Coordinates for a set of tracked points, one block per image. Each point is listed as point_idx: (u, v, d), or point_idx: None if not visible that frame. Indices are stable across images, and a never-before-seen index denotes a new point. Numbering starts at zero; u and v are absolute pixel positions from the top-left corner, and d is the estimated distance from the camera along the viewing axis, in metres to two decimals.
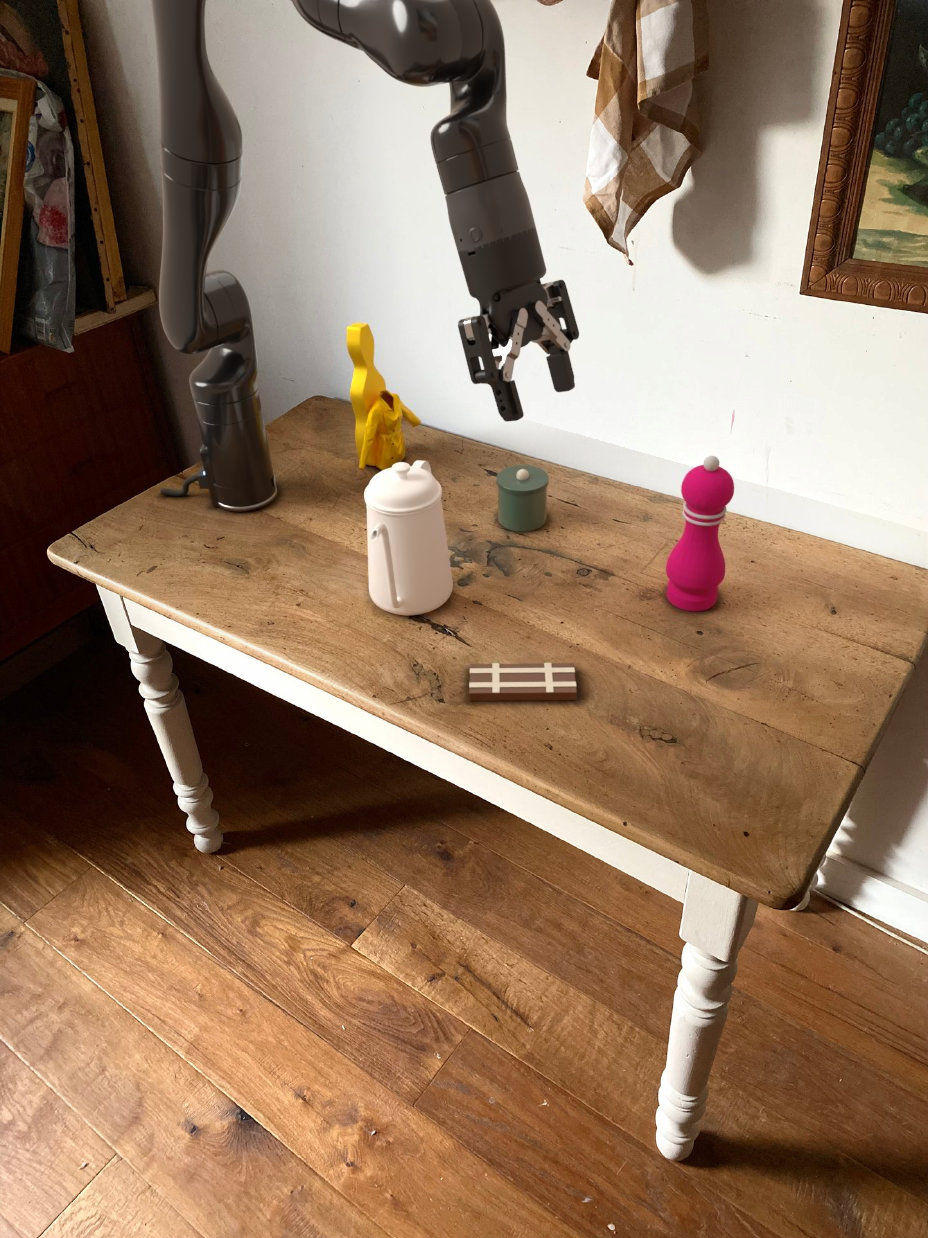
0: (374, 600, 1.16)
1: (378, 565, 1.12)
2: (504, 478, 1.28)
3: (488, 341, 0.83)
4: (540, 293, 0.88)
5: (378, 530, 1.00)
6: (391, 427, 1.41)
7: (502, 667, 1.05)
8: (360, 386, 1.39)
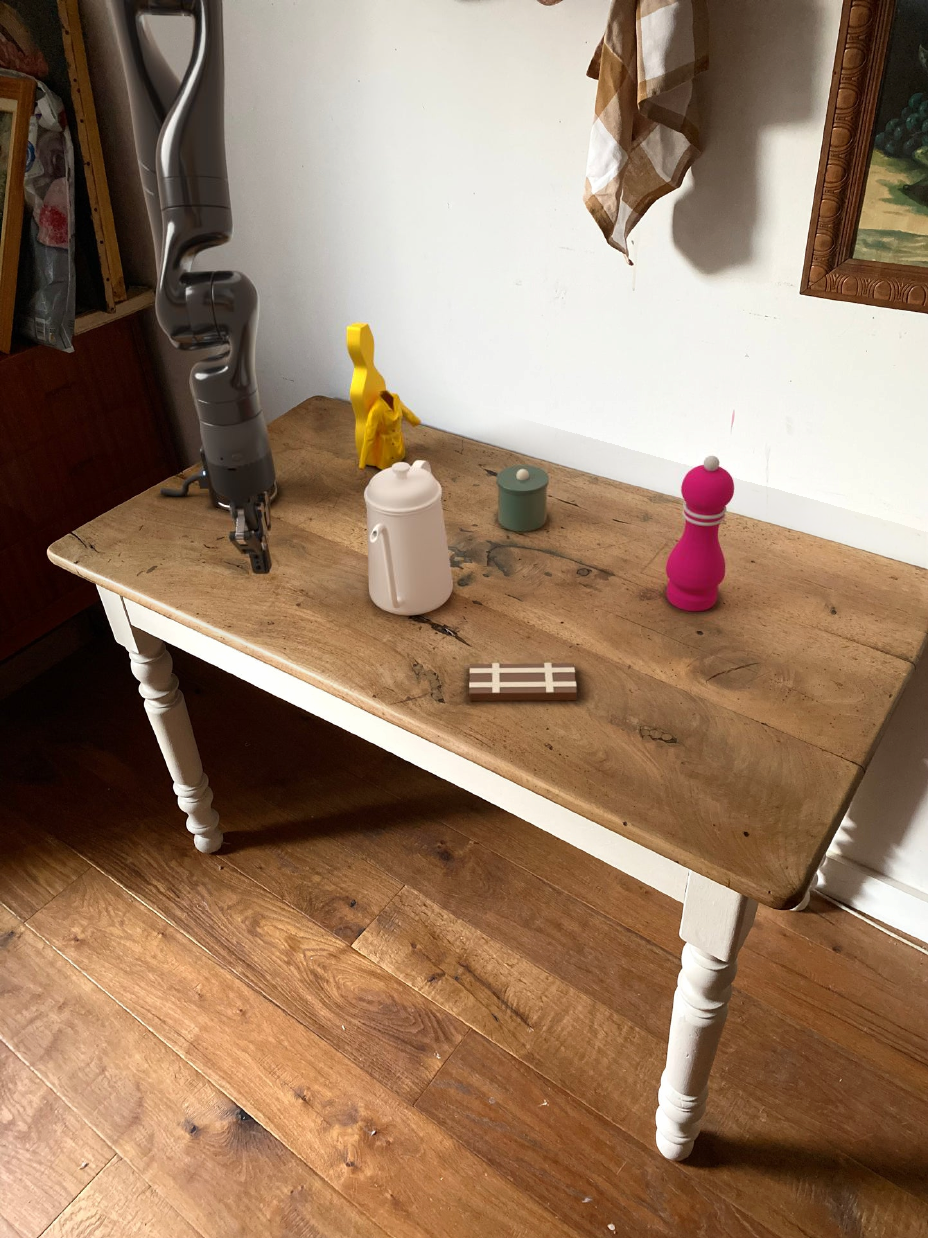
0: (374, 600, 1.16)
1: (378, 565, 1.12)
2: (504, 478, 1.28)
3: (255, 538, 1.09)
4: None
5: (378, 530, 1.00)
6: (391, 427, 1.41)
7: (502, 667, 1.05)
8: (360, 386, 1.39)
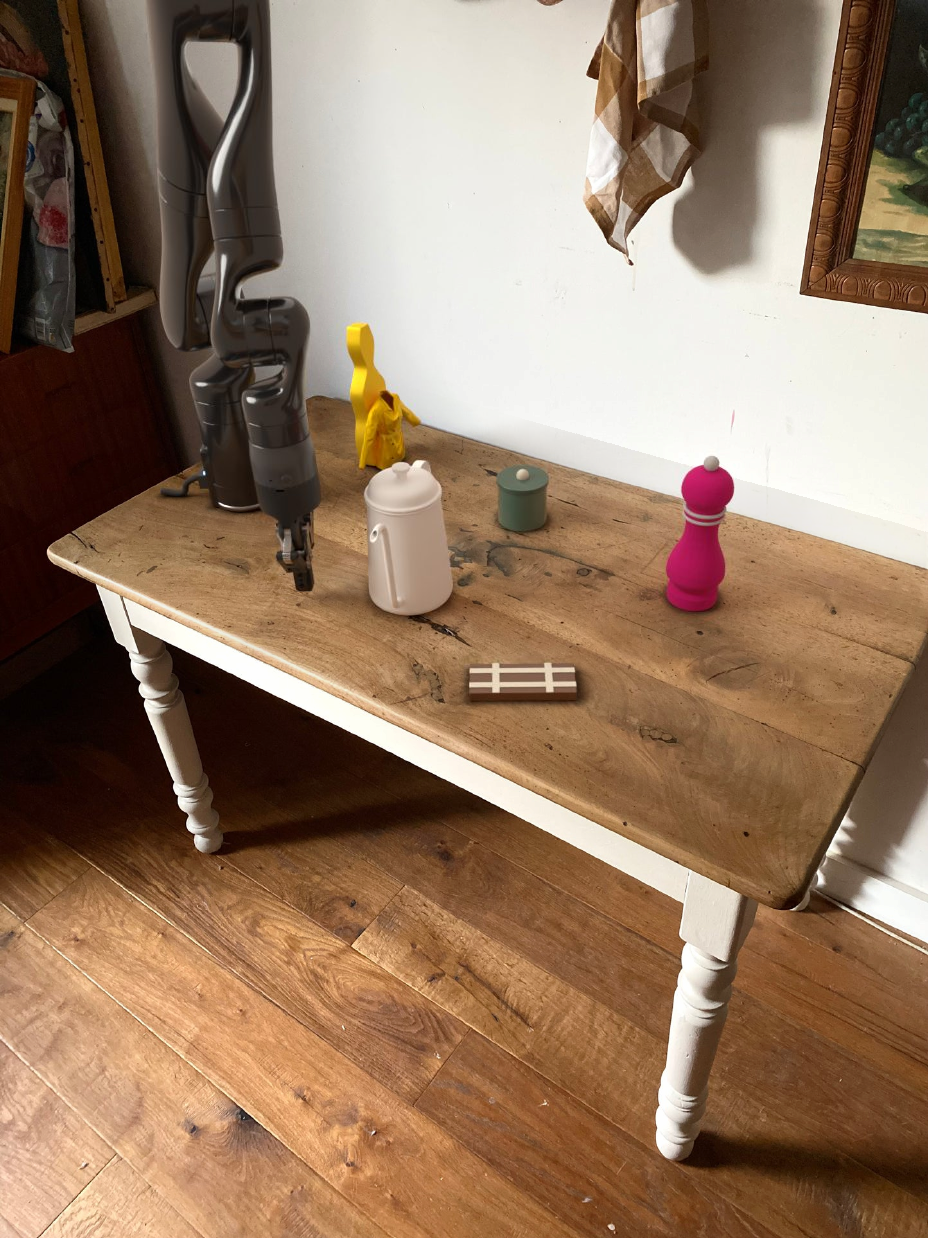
0: (374, 600, 1.16)
1: (378, 565, 1.12)
2: (504, 478, 1.28)
3: (301, 558, 1.10)
4: None
5: (378, 530, 1.00)
6: (391, 427, 1.41)
7: (502, 667, 1.05)
8: (360, 386, 1.39)
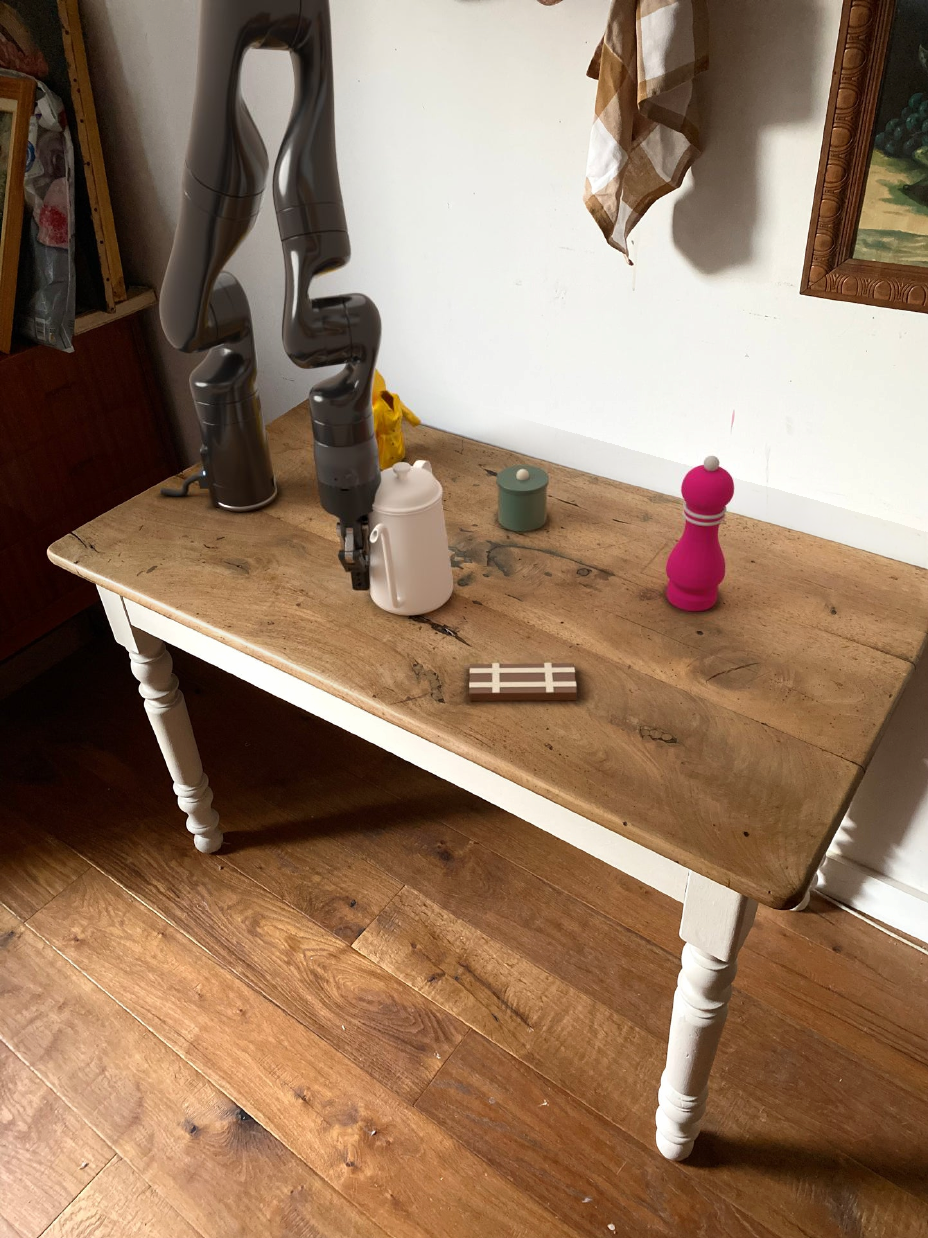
0: (374, 600, 1.16)
1: (379, 565, 1.12)
2: (504, 478, 1.28)
3: (362, 557, 1.10)
4: None
5: (378, 530, 1.00)
6: (391, 427, 1.41)
7: (502, 667, 1.05)
8: None
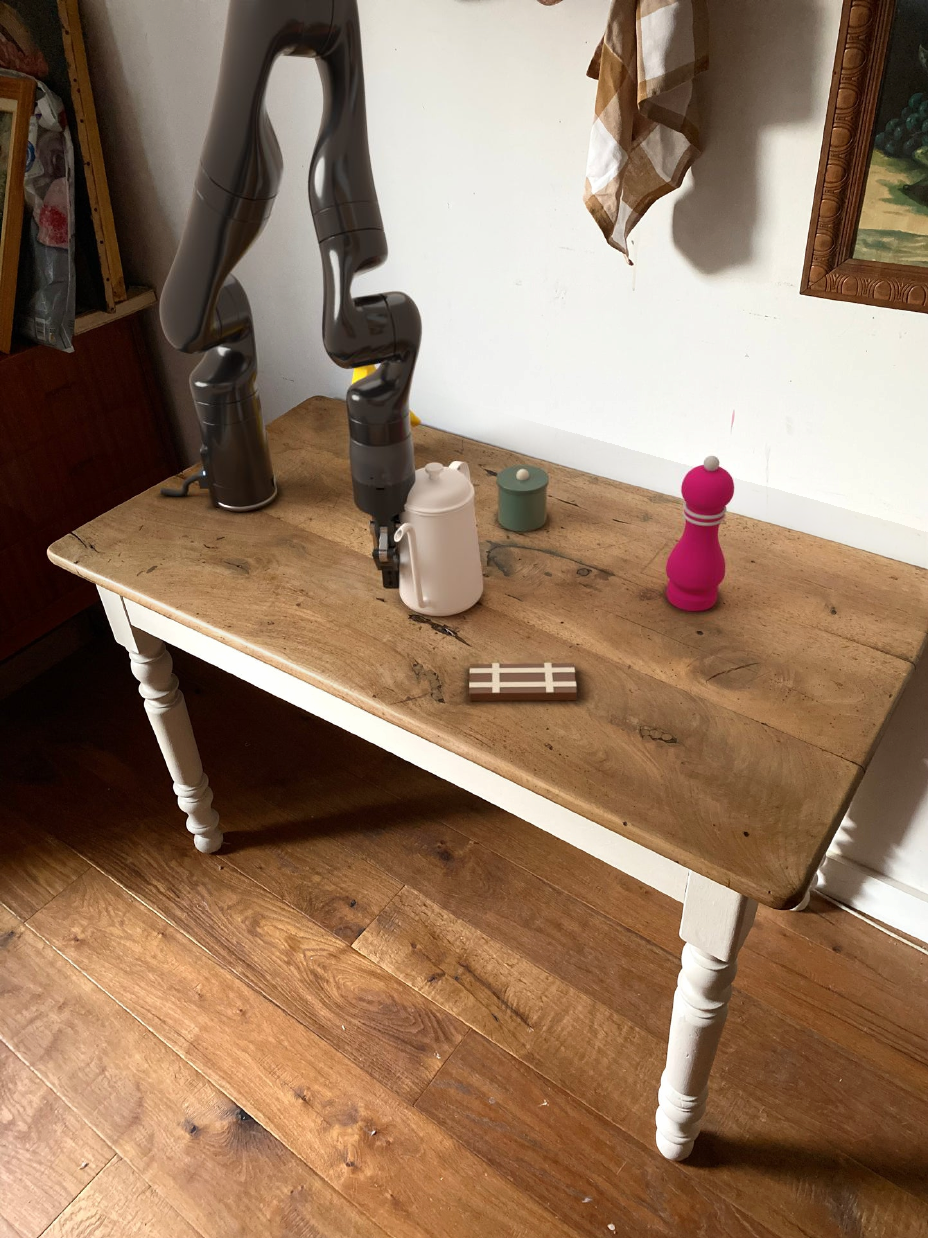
0: (403, 598, 1.16)
1: (407, 564, 1.12)
2: (504, 478, 1.28)
3: (395, 556, 1.10)
4: None
5: (403, 530, 1.00)
6: None
7: (502, 667, 1.05)
8: None
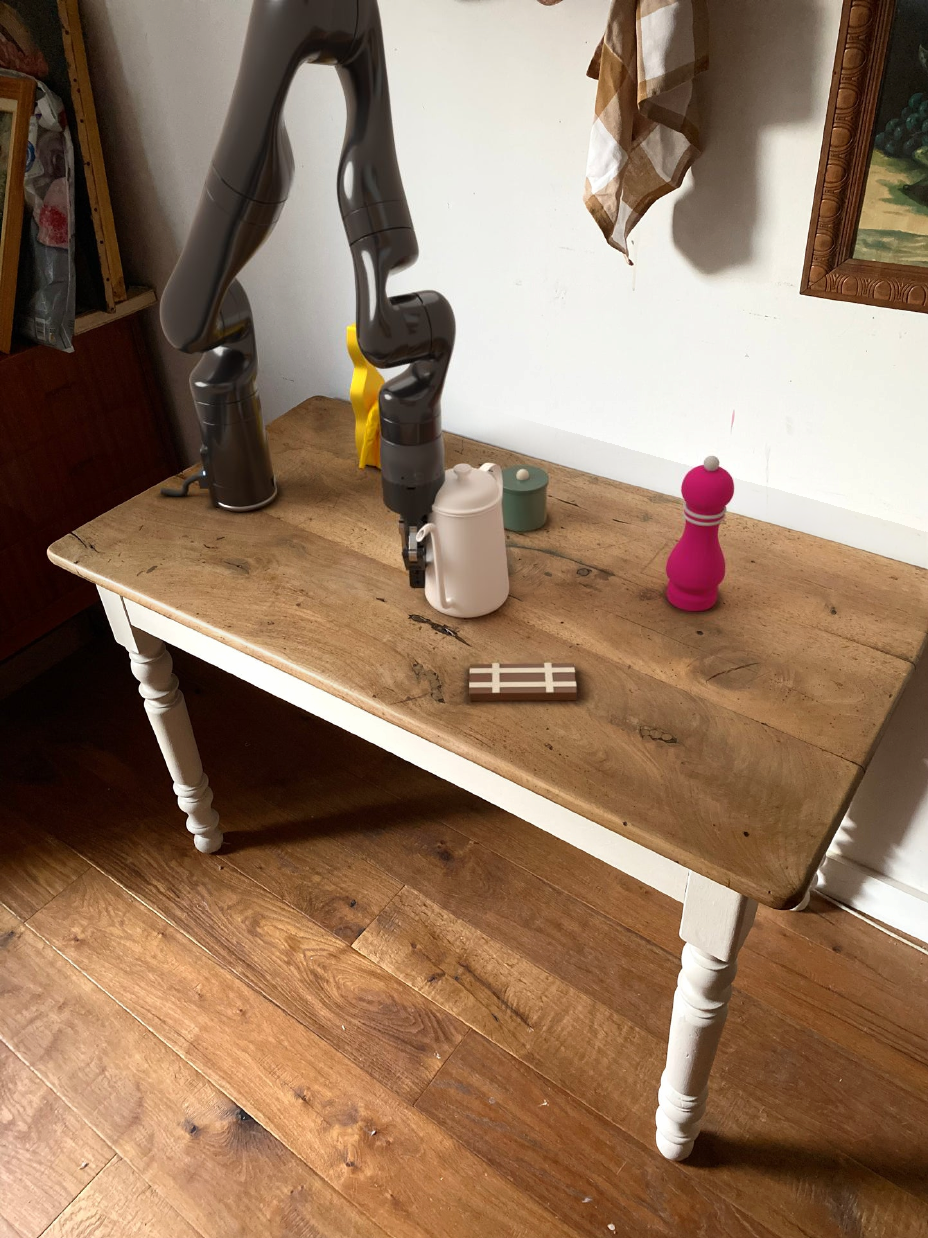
0: (427, 598, 1.16)
1: (433, 564, 1.12)
2: (504, 478, 1.28)
3: None
4: None
5: (425, 530, 1.00)
6: None
7: (502, 667, 1.05)
8: (360, 386, 1.39)
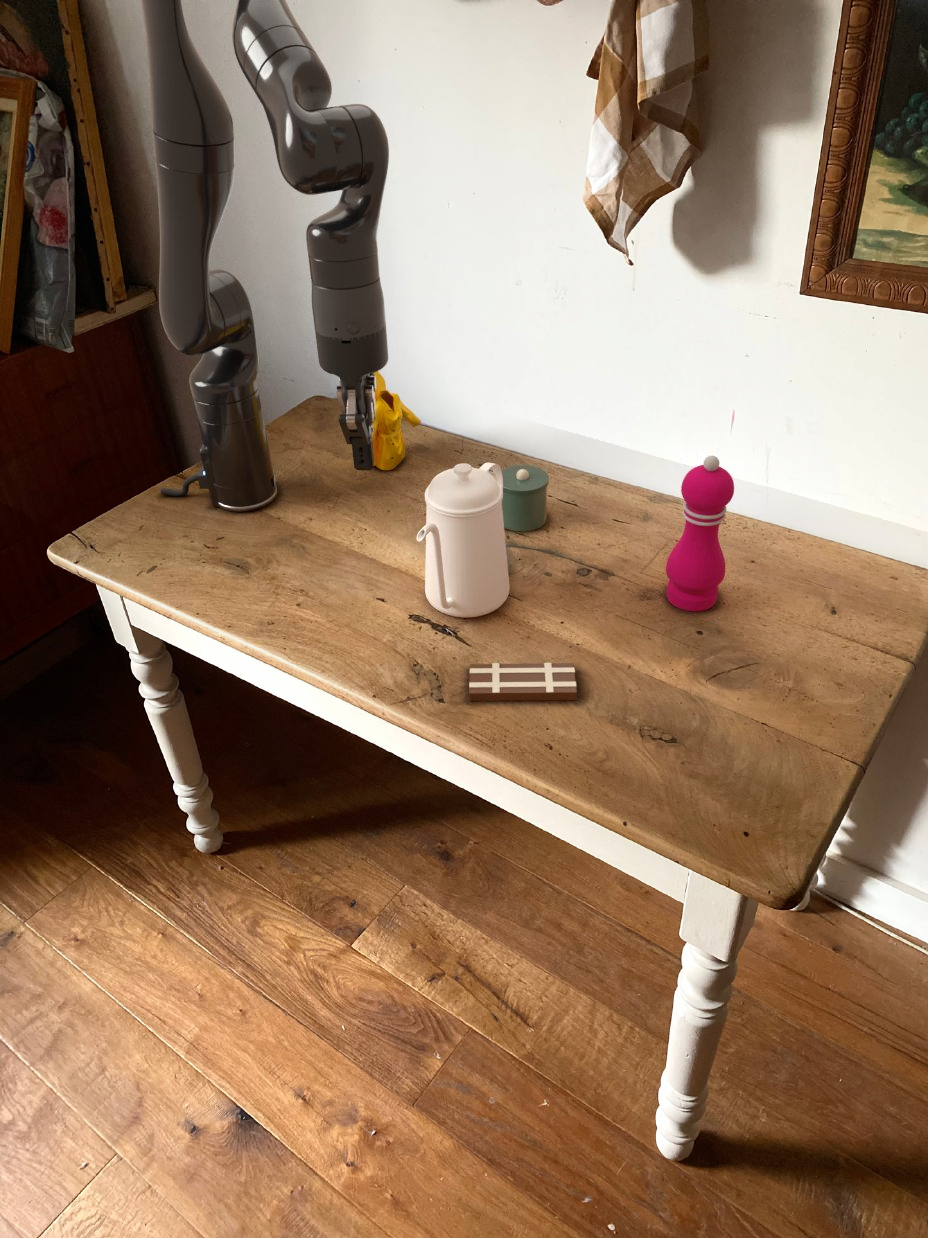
0: (428, 598, 1.16)
1: (433, 563, 1.12)
2: (504, 478, 1.28)
3: (365, 424, 0.99)
4: None
5: (426, 530, 1.00)
6: (391, 427, 1.41)
7: (502, 667, 1.05)
8: None
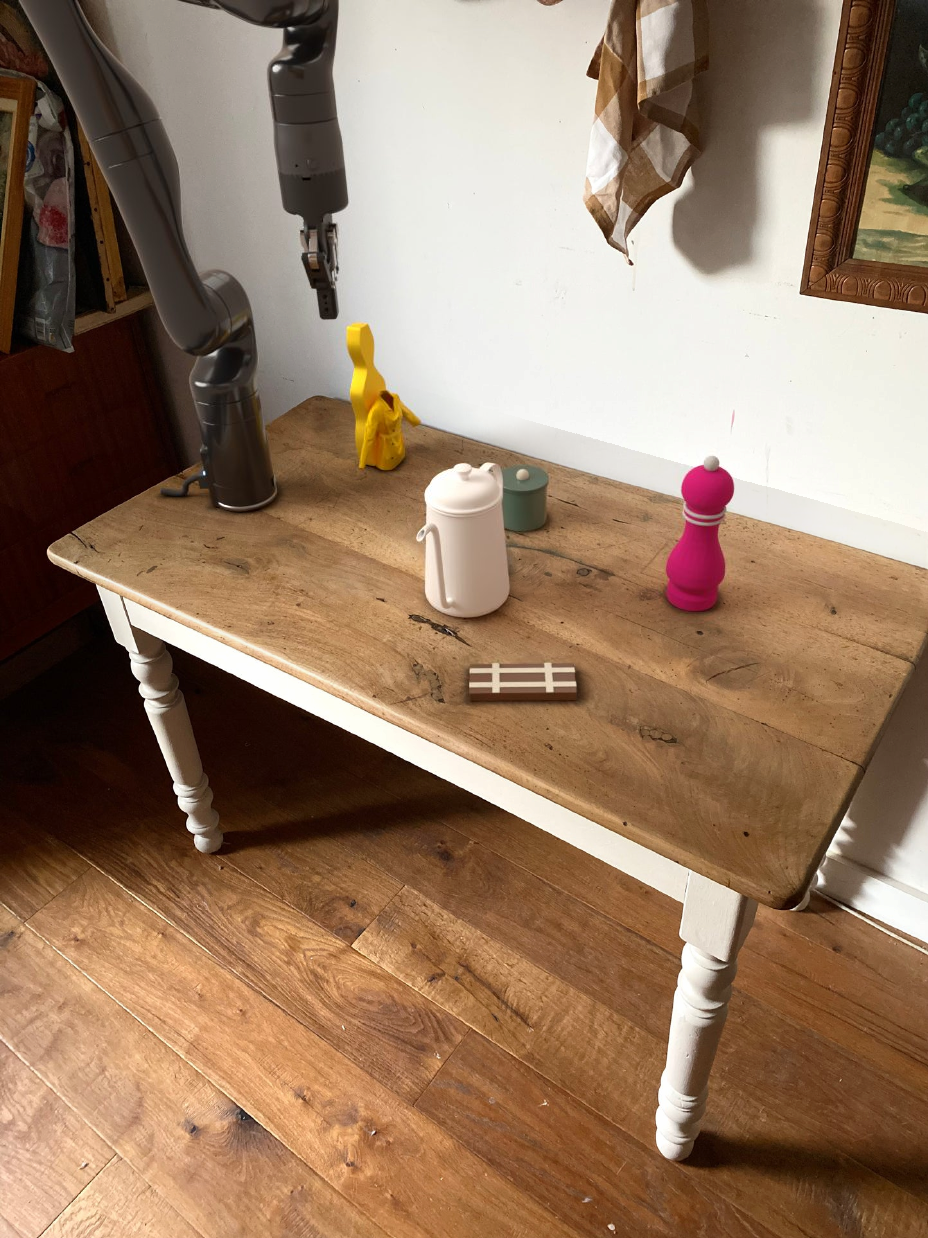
0: (428, 598, 1.16)
1: (433, 563, 1.12)
2: (504, 478, 1.28)
3: (327, 264, 1.05)
4: (330, 215, 1.08)
5: (426, 530, 1.00)
6: (391, 427, 1.41)
7: (502, 667, 1.05)
8: (360, 386, 1.39)
